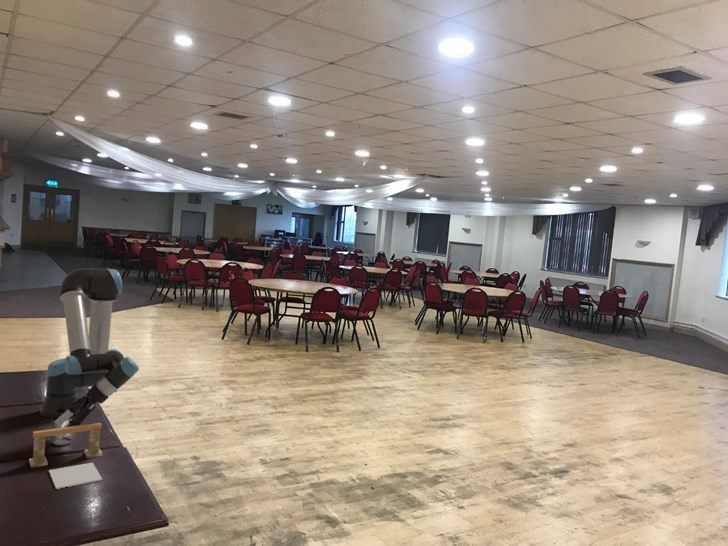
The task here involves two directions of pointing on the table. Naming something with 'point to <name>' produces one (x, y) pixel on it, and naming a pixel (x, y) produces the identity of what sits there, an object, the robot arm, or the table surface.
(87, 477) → the mat
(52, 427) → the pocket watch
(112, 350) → the robot arm
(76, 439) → the table surface
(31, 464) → the posts
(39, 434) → the bar
